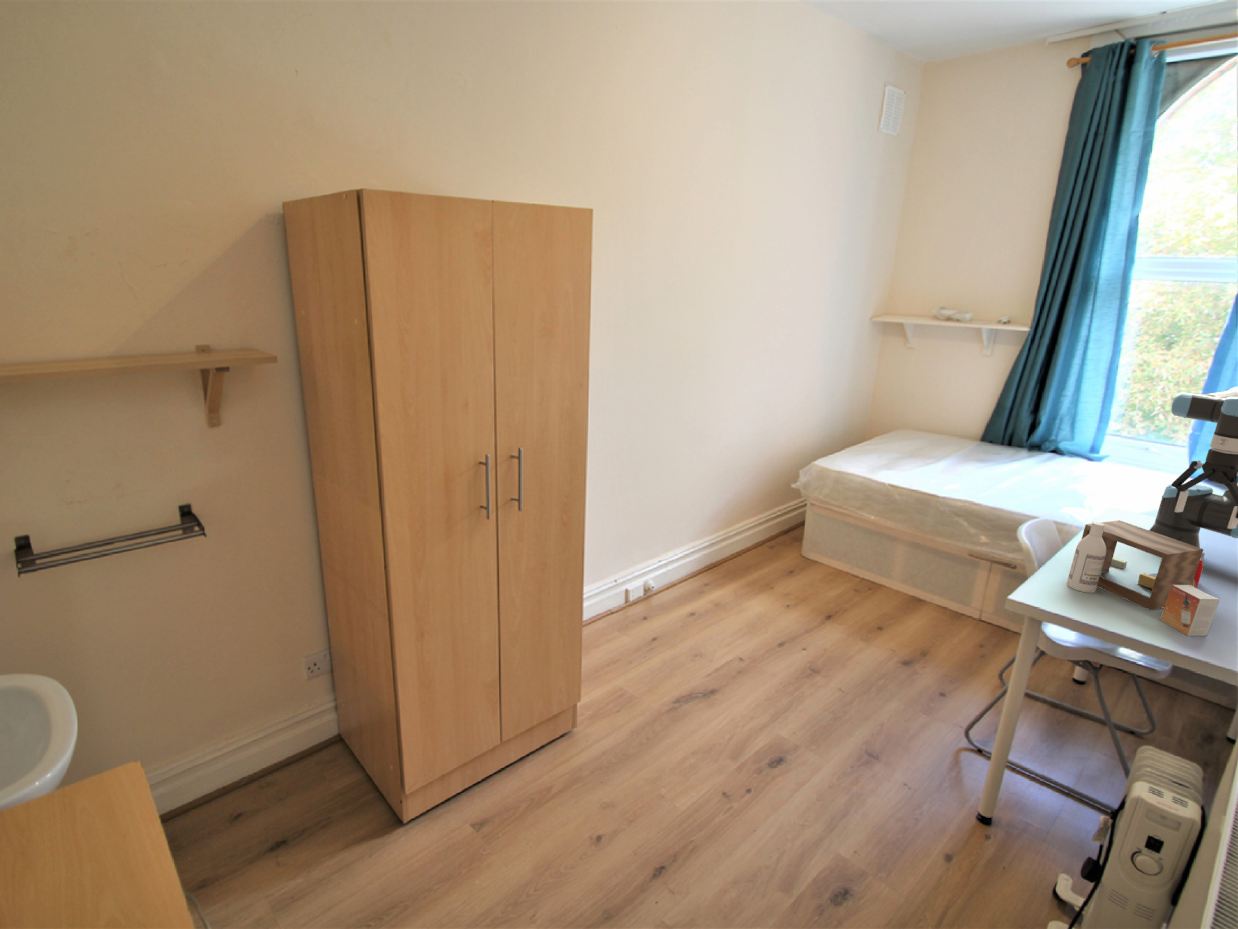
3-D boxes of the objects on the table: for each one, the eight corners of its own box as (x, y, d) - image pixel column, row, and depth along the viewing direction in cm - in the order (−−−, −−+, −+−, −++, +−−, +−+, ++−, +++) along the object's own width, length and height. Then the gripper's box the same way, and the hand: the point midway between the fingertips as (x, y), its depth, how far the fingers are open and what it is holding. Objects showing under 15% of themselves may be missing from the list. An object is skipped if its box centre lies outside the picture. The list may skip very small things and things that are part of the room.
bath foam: (1101, 592, 185) (1119, 527, 179) (1084, 594, 182) (1102, 529, 177) (1077, 581, 191) (1094, 518, 185) (1060, 584, 188) (1078, 520, 183)
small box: (1159, 620, 170) (1170, 584, 167) (1178, 620, 170) (1190, 584, 167) (1187, 636, 162) (1200, 599, 159) (1207, 636, 163) (1220, 599, 160)
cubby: (1105, 570, 200) (1119, 520, 195) (1185, 603, 180) (1203, 549, 176) (1071, 575, 195) (1085, 524, 190) (1150, 610, 175) (1167, 554, 170)
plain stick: (1075, 555, 211) (1077, 548, 211) (1077, 553, 213) (1079, 546, 212) (1122, 569, 202) (1124, 562, 201) (1125, 568, 203) (1127, 561, 202)
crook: (1179, 575, 199) (1185, 547, 197) (1219, 588, 190) (1226, 559, 188) (1133, 581, 192) (1139, 553, 190) (1172, 596, 183) (1179, 566, 181)
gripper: (1169, 440, 195) (1150, 506, 201) (1272, 463, 173) (1247, 536, 179) (1185, 439, 198) (1166, 504, 204) (1289, 462, 175) (1263, 534, 181)
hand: (1204, 519), depth 191 cm, fingers open, 13 cm apart
